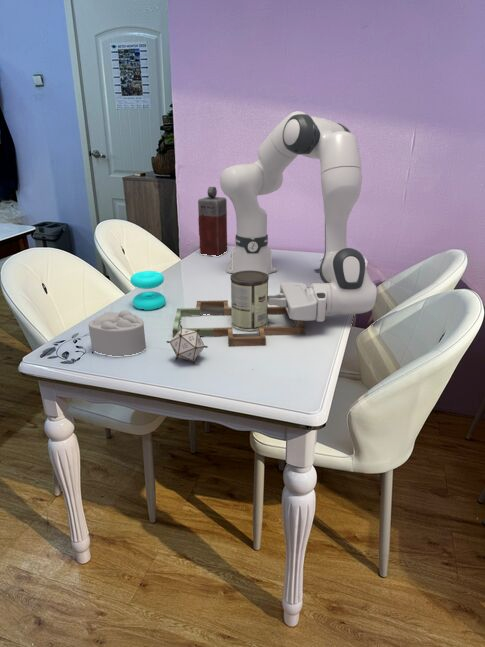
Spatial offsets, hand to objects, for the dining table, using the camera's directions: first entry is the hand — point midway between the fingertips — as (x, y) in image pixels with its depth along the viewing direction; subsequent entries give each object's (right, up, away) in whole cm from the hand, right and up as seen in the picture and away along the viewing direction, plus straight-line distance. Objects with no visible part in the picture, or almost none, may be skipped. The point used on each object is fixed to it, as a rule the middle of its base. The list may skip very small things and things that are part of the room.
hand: (267, 300), depth 124 cm
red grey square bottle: (-20, +24, +73) cm, 79 cm away
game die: (-20, -15, -16) cm, 30 cm away
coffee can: (-5, -7, +3) cm, 9 cm away
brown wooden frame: (-9, -7, +2) cm, 11 cm away
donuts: (-36, -1, +16) cm, 39 cm away
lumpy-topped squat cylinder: (-37, -13, -11) cm, 41 cm away
